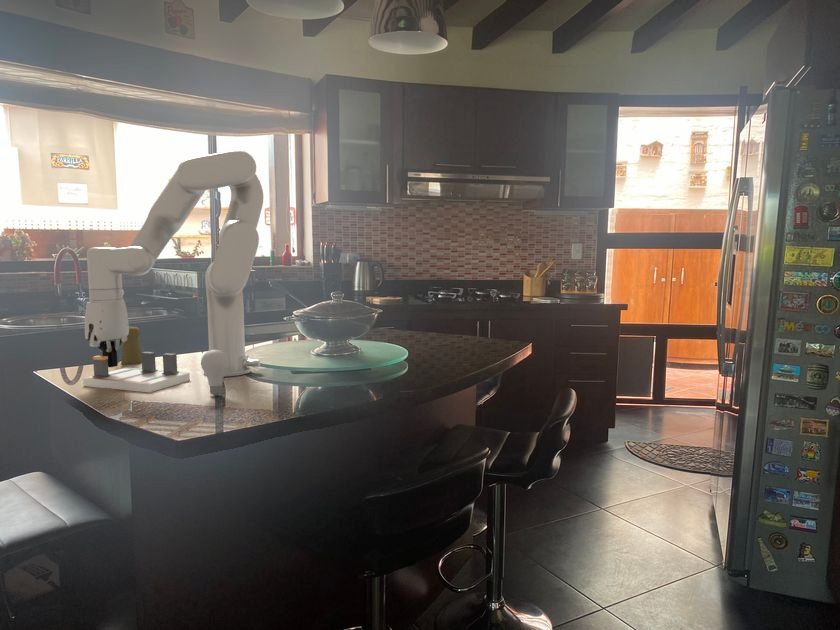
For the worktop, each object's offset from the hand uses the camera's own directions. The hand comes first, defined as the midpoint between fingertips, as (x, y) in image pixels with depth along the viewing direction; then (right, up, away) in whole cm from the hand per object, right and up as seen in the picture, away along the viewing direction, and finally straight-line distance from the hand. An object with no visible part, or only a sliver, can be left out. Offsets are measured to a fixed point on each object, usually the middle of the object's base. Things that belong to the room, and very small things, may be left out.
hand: (110, 366), depth 152 cm
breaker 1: (+8, -2, +3) cm, 9 cm away
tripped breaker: (-1, -2, -3) cm, 4 cm away
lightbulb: (+32, -6, -14) cm, 35 cm away
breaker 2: (+15, -2, +1) cm, 15 cm away
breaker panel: (+7, -4, 0) cm, 8 cm away
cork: (-7, -1, +27) cm, 28 cm away
